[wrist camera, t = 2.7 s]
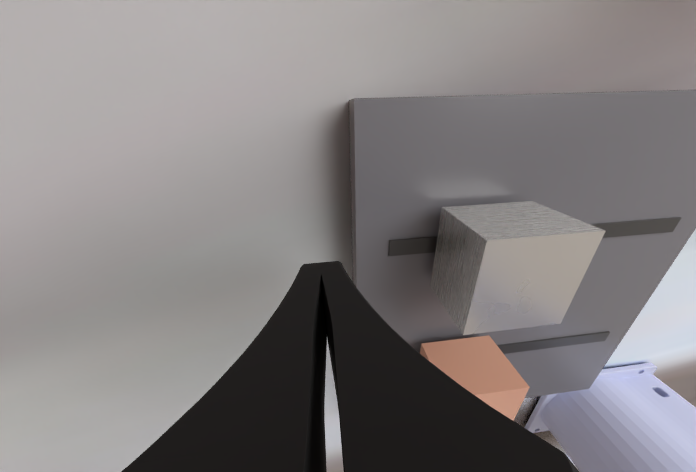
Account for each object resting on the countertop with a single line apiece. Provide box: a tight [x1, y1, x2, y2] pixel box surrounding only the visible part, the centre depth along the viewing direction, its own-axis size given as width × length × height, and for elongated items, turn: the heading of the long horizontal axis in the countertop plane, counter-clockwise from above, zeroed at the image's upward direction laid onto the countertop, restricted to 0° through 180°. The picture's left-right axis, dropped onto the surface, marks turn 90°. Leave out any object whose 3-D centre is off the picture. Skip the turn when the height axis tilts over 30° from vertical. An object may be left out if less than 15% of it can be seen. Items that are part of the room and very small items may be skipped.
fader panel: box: [349, 90, 696, 398], centre depth 14 cm, size 18×20×2 cm
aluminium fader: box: [430, 201, 605, 335], centre depth 10 cm, size 4×4×3 cm
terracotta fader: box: [420, 335, 530, 421], centre depth 13 cm, size 4×4×3 cm
